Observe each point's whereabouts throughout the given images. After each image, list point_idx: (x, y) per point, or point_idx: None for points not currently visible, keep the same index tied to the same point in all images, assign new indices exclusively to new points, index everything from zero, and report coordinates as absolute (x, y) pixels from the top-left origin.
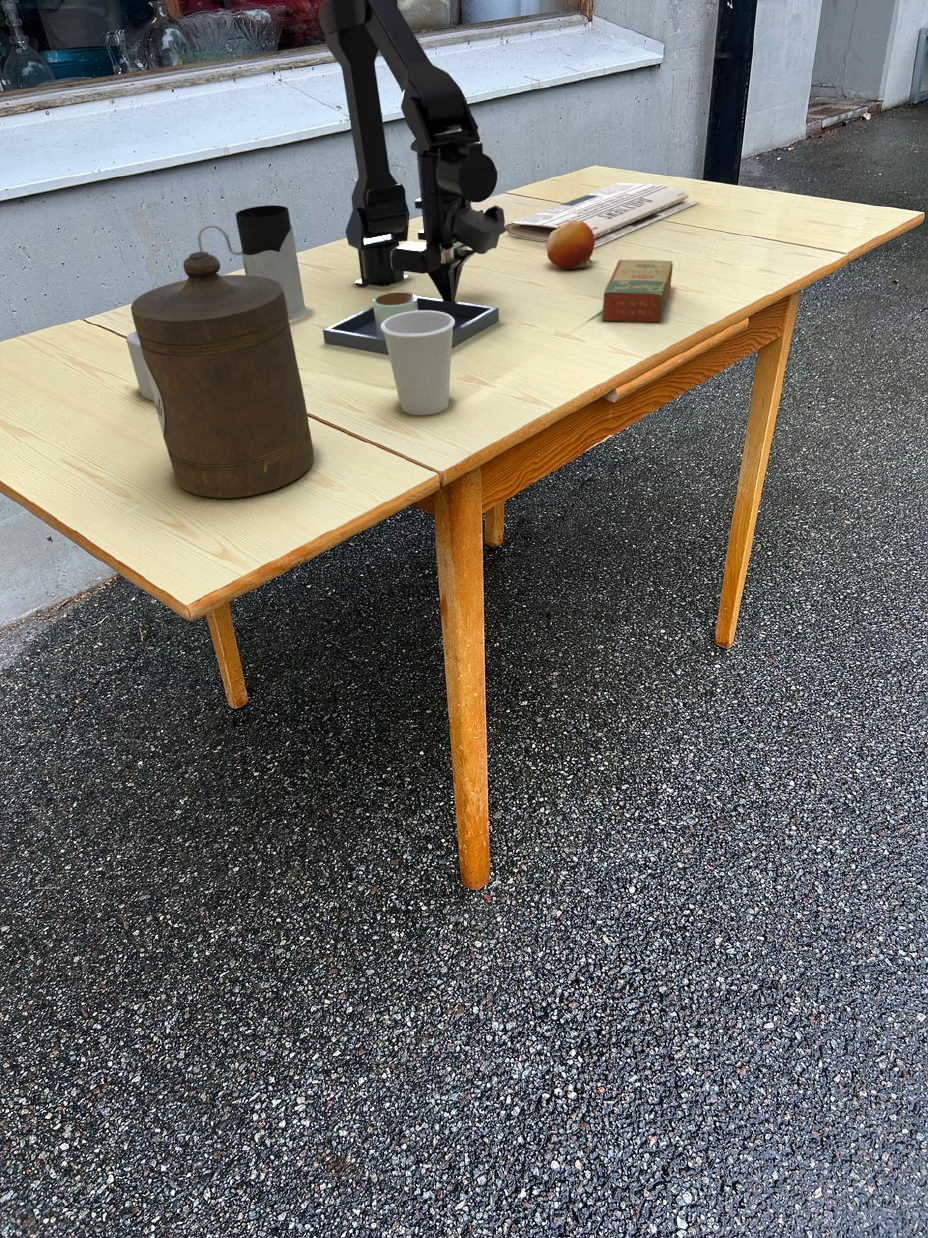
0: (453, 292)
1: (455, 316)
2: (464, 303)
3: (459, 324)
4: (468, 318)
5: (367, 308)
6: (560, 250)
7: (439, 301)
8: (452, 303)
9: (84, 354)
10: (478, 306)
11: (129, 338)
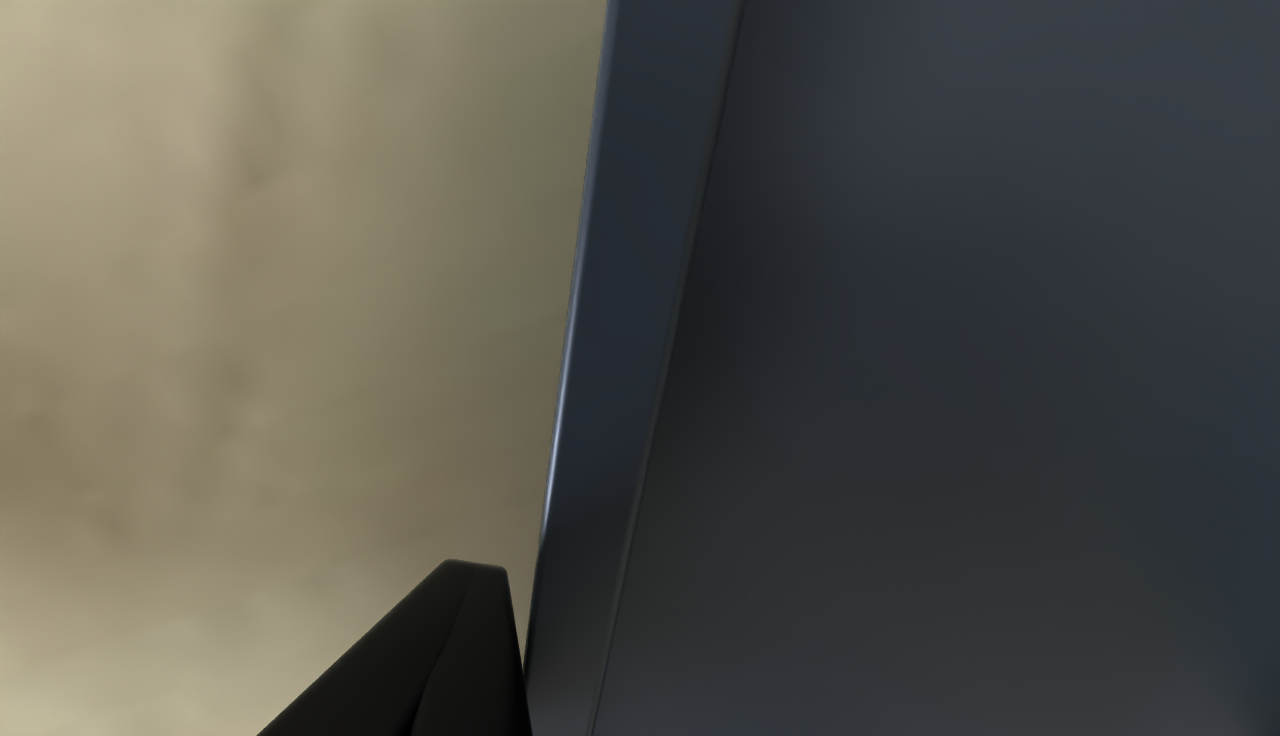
0: (436, 692)
1: (673, 406)
2: (604, 382)
3: (1036, 223)
4: (723, 194)
5: None
6: None
7: (591, 725)
8: (628, 560)
9: None
10: (733, 5)
11: None
